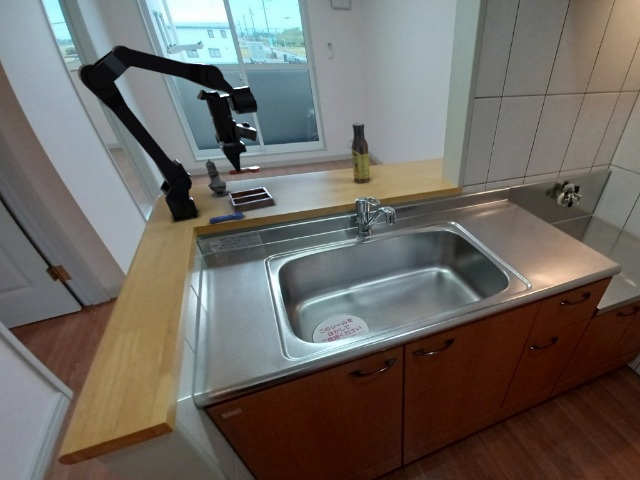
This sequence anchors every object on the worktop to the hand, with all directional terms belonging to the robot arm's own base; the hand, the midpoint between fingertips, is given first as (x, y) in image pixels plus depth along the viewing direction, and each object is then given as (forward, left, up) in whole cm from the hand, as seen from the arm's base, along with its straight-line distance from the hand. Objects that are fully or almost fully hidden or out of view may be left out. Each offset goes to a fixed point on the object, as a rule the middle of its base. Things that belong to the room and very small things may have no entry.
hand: (238, 170), depth 106 cm
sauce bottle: (+42, -4, -10) cm, 43 cm away
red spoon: (+2, 0, -1) cm, 2 cm away
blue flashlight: (-8, -14, -10) cm, 19 cm away
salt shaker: (-7, +10, -10) cm, 16 cm away
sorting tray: (+1, -4, -10) cm, 10 cm away
